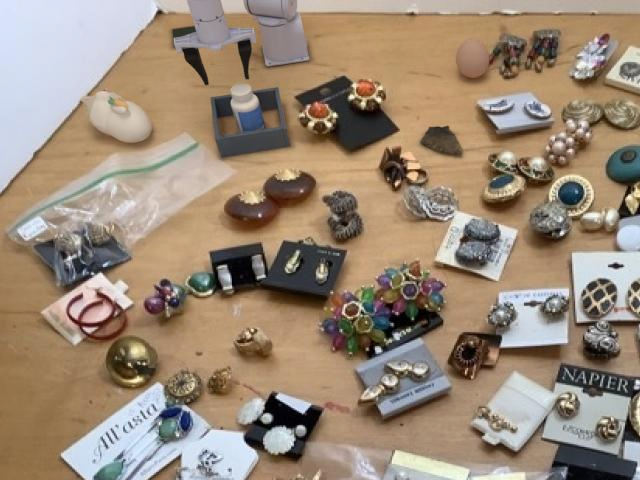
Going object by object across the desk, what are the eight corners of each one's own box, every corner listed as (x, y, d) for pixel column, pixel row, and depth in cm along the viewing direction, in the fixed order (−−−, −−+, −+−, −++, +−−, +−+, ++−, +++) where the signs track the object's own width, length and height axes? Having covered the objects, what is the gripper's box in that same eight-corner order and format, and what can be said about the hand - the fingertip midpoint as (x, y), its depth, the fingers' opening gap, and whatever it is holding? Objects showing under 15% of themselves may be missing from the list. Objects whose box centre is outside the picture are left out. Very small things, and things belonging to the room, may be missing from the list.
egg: (463, 62, 179) (463, 27, 172) (494, 69, 177) (494, 34, 170) (451, 80, 175) (450, 45, 168) (482, 88, 173) (482, 53, 167)
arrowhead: (460, 160, 160) (460, 154, 158) (416, 145, 162) (416, 140, 161) (476, 139, 163) (476, 134, 162) (433, 125, 166) (433, 120, 165)
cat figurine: (143, 102, 154) (79, 72, 156) (124, 140, 154) (60, 110, 156) (169, 121, 163) (109, 93, 166) (151, 157, 163) (91, 128, 166)
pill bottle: (272, 128, 165) (261, 86, 157) (253, 142, 162) (242, 101, 154) (251, 119, 166) (240, 77, 158) (233, 133, 164) (220, 91, 156)
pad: (208, 25, 186) (208, 24, 185) (210, 42, 182) (210, 41, 182) (172, 30, 184) (172, 29, 184) (174, 47, 181) (173, 46, 180)
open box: (282, 105, 169) (278, 86, 165) (290, 146, 161) (286, 127, 158) (216, 115, 167) (210, 97, 163) (221, 157, 159) (215, 139, 156)
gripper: (166, 30, 142) (189, 97, 153) (250, 19, 145) (266, 85, 156) (165, 9, 146) (187, 75, 157) (246, -2, 149) (263, 64, 160)
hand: (226, 79), depth 157 cm, fingers open, 7 cm apart
